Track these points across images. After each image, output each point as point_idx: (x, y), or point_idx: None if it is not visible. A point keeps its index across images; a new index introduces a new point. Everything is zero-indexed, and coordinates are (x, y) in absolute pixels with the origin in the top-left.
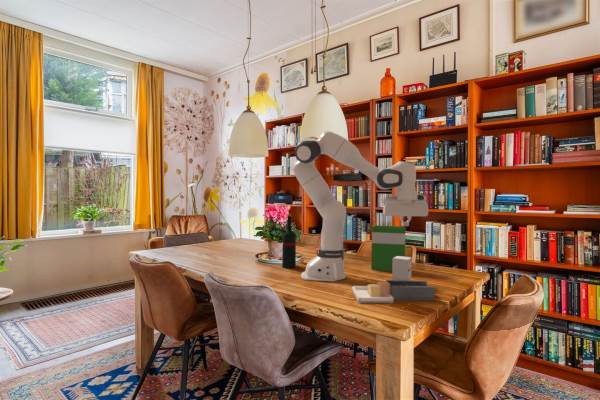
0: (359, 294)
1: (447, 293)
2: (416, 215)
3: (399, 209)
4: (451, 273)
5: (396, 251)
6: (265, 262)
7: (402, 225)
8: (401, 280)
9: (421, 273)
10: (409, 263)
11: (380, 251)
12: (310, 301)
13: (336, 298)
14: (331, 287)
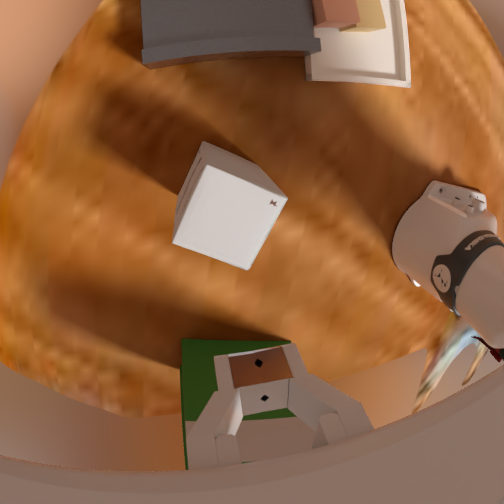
0: (391, 28)
1: (70, 91)
2: (102, 478)
3: (457, 500)
4: (43, 343)
5: None
6: None
7: (295, 345)
8: (255, 49)
9: (126, 333)
10: (192, 184)
11: None
12: (479, 21)
13: (438, 26)
14: (445, 122)
